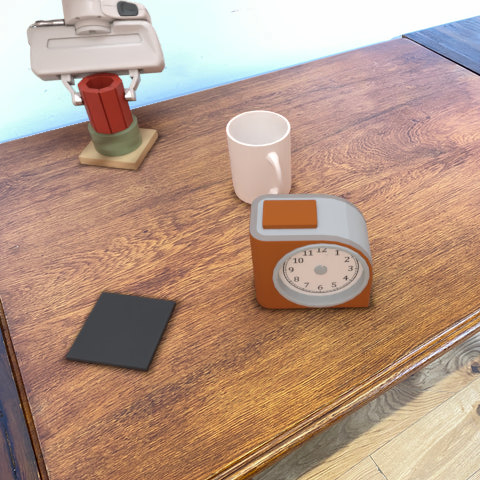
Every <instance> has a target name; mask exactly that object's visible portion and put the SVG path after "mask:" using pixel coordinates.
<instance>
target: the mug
mask: <svg viewBox="0 0 480 480" xmlns="http://www.w3.org/2000/svg"><path fill="white" fill-rule="evenodd" d="M225 131H226V141H227V148H228V149H227V150H228V156H229V163H230V172H231V180H232V186H233V187H232V188H233V190H234V193H235V195H236V197H237V198H239V200H240V201H243V202H244V203H245V204H249V205H251V204H252V202H253V200H254V199H255V198H257V197H259V196H261V195H265V194H290V192H291V190H292V184H293V183H292V180H293V179H292V177H293V176H292V140H291V138H292V137H291V134H292V133H291V123H290V121H289V120H288V119H287V118H286V117H284V115H282V114H279V113H277V112H274V111H270V110H250V111H245V112H243V113H239V114H237V115H235V116H234V117H232V118H231V119H230V120H229V121H228V123H227V124H226V129H225Z"/></svg>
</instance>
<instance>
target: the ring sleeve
mask: <svg viewBox="0 0 480 480" xmlns="http://www.w3.org/2000/svg"><path fill="white" fill-rule="evenodd" d="M76 86H77V89H78V92H80V95H81V98H82V100H83V103H84V105H83V106H84V109H85V112H86V115H87V118H88V121H89V122H90V124H91V126H92V127H93V129H94V130H95V131H96V132H98V133H104V134H111V133H113V134H114V133H117V132H120V131H123V130H126V128H127V129H128V128H129V126H130V125H131V123H132V122H133V118H132V114H133V113H132V111H131V107H130V103H129V102H127V101H126V99H125V93H124V89H125V85H124V82H123V79H122V78H121V76H118V75H117V74H115V73H105V72H102V73H100V72H99V73H96V74H92V75H88V76H86V77H84V78H81V79H80V81H79V82H78V83H77V85H76ZM131 113H132V114H131Z"/></svg>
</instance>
